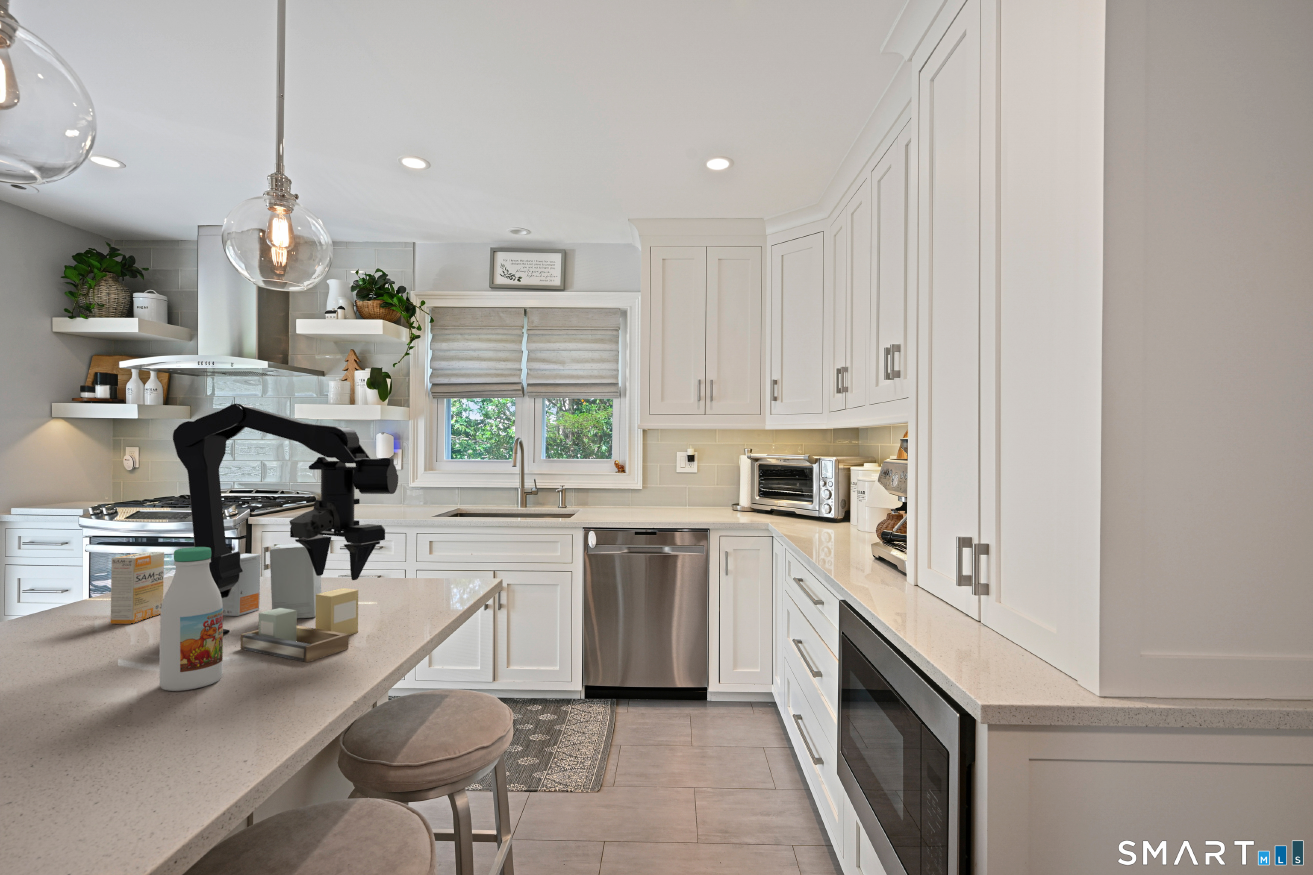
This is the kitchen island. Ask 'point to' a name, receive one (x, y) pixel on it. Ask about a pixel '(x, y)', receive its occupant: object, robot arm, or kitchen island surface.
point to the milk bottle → (191, 624)
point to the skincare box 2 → (293, 580)
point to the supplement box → (136, 587)
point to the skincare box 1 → (245, 588)
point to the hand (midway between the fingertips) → (336, 577)
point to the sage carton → (278, 623)
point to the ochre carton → (337, 611)
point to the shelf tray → (298, 644)
